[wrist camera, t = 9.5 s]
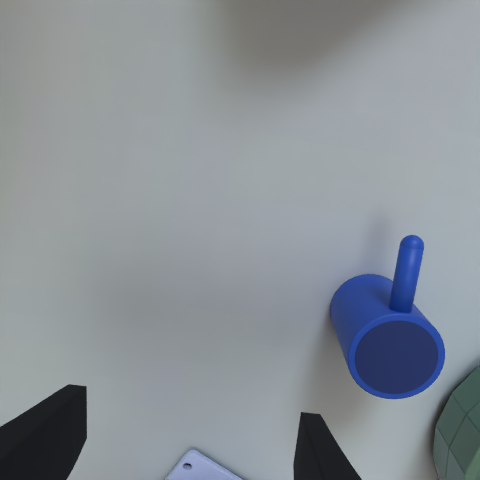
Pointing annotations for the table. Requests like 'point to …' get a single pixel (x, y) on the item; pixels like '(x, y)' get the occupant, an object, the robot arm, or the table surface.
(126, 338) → the table surface
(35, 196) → the table surface
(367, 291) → the scoop
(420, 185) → the table surface
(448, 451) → the green plant saucer
